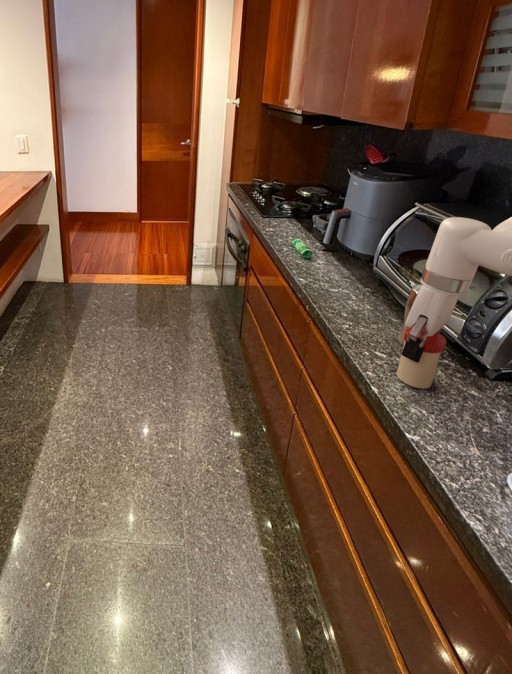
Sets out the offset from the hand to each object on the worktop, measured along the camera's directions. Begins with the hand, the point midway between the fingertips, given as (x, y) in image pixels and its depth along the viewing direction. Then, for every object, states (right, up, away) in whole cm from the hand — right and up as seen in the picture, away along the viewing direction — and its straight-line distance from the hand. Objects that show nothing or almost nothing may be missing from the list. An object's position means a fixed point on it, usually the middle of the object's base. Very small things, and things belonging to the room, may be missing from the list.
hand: (417, 351), depth 83 cm
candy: (+4, +19, +65) cm, 68 cm away
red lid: (0, +4, -2) cm, 4 cm away
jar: (+1, -6, +2) cm, 7 cm away
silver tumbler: (+9, -2, +14) cm, 16 cm away
